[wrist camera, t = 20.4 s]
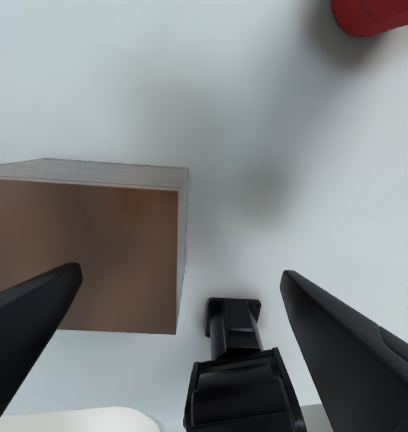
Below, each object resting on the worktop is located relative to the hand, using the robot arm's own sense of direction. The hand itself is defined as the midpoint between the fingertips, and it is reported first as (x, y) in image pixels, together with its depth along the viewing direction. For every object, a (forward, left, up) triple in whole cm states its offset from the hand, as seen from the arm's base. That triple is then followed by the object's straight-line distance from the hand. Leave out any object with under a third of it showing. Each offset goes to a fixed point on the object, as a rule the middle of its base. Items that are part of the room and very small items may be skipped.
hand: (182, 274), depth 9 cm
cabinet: (-3, +7, -12) cm, 14 cm away
